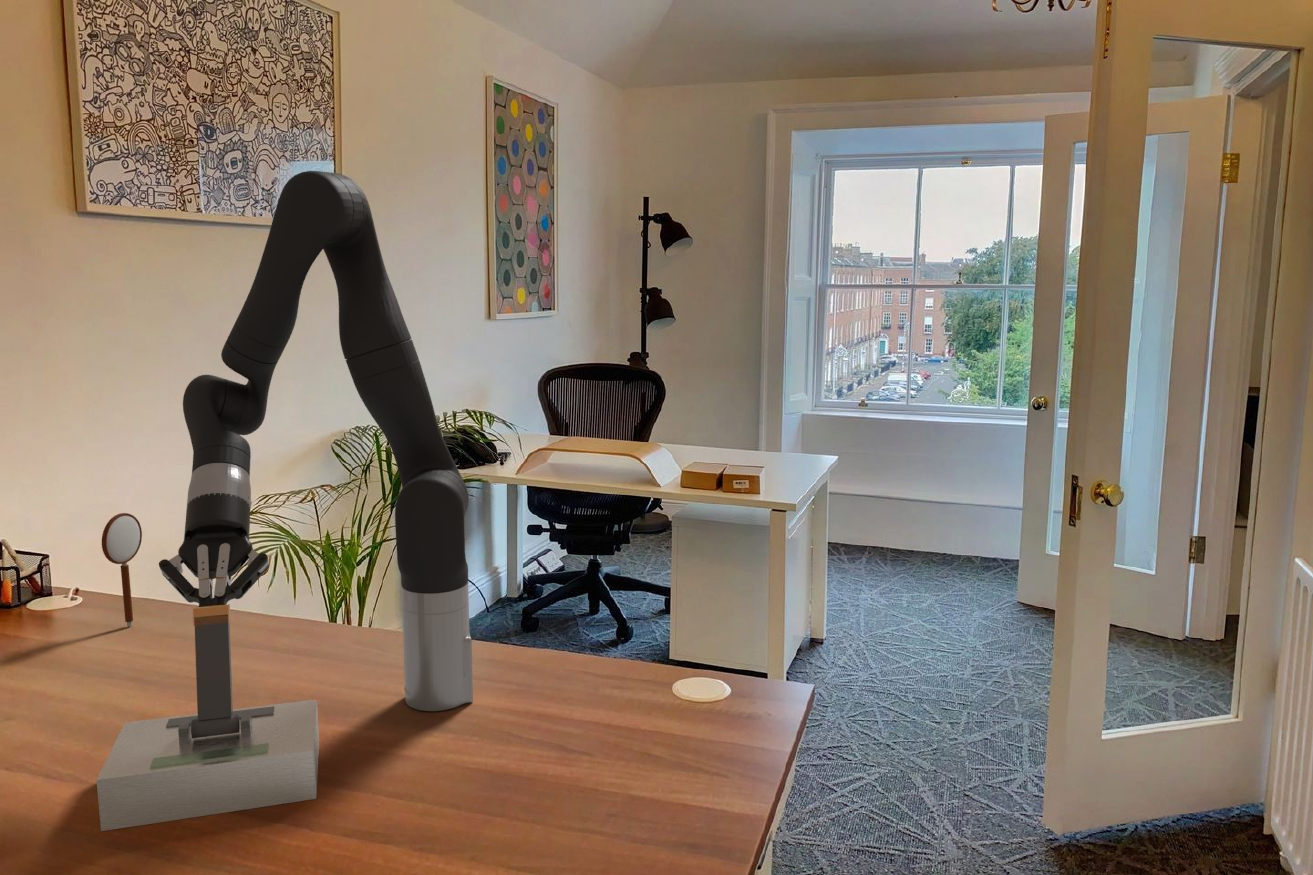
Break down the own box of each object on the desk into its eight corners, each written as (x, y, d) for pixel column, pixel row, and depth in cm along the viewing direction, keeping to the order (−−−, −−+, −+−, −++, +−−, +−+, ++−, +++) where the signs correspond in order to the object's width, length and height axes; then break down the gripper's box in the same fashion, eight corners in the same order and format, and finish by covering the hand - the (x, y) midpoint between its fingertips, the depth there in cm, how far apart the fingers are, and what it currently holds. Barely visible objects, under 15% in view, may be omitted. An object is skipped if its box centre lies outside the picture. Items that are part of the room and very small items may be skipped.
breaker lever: (240, 730, 112) (235, 603, 113) (238, 734, 110) (233, 605, 111) (194, 735, 111) (189, 607, 111) (191, 740, 109) (186, 609, 109)
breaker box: (319, 742, 122) (316, 684, 120) (316, 798, 108) (312, 734, 107) (128, 768, 115) (123, 706, 113) (101, 831, 102) (94, 762, 100)
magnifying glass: (115, 636, 157) (105, 520, 154) (106, 635, 157) (96, 519, 154) (151, 618, 165) (142, 508, 162) (143, 617, 166) (134, 507, 162)
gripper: (156, 493, 117) (143, 622, 107) (271, 488, 121) (267, 611, 111) (167, 523, 123) (155, 648, 113) (276, 517, 127) (273, 637, 117)
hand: (211, 629), depth 112 cm, fingers closed
